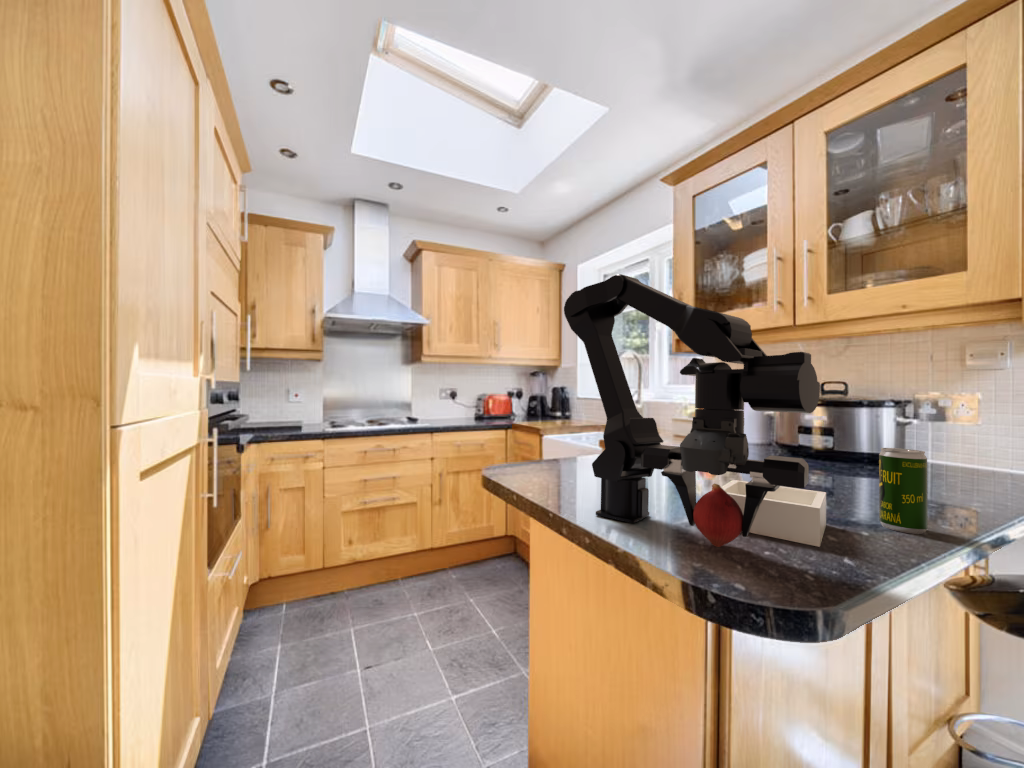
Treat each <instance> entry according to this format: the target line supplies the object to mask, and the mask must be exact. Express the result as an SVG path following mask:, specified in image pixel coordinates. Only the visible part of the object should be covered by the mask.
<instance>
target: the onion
mask: <svg viewBox="0 0 1024 768" xmlns="http://www.w3.org/2000/svg"><path fill="white" fill-rule="evenodd" d="M721 487H722V486H721V485H720V484H718V483H713V484H712V485H711V490H710V491H708V492H706V493H705V494H703V495H702V496H700V498H699V499H698V500H697V501H696V505H695V507H694V511H693V518H694V522H695V527H696V528H697V529H698V531H699V532H700V533H701V535H702V536H703V537H705V538H706V539H707V540H708V542H709V543H710V544H711V545H712V546H714V547H717V548H721V547H723V546H725V545H727V544H730V543H731V542H733V541H734V540H735V539H737V538H738V537H739V536H740V535H741V534H742V522H743V513H742V510H741V508H740V507H739V505H738V504H737V502H736V501H735V500H734V499H733V498H732V497H731V496H730V495H729V494H727V493H726V492H725V491H724V490H723V489H722V488H721Z"/></svg>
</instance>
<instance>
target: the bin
mask: <svg viewBox="0 0 1024 768" xmlns="http://www.w3.org/2000/svg"><path fill="white" fill-rule="evenodd" d="M748 482H749V481H745V480H737V479H732V480H731V481H729V482H726V483H725V484H724V485H722V486H720V487H721V488H722V489H723V490H724V491H725V492H726V493H727V494H729V495H730V496H731V497H732V498H733V499H734V500H735V501H736V502H737V504H738V505H739V507H740V508H741V510H742V513H743V514H744V507H745V499H746V487H745V484H747V483H748ZM826 527H827V492H825V491H820V490H812V489H811V490H810V489H805V488H793V487H786V486H780V487H779V488H778V489H777V490H776V491H774V492H770V491H768V492H767V494H766V495H765V497H764V499H763V500H762V502H761V504H760V506H759V509H758V511H757V514H756V516H755V518H754V521H753V523H752V526H751V528H750V531H749V533H752V534H756V535H760V536H765V537H771V538H776V539H780V540H784V541H785V540H786V541H790V542H795V543H800V544H804V545H808V546H812V547H813V546H815V547H819V548H820V547H821V545H822V541H823V538H824V537H823V536H824V533H825V530H826Z"/></svg>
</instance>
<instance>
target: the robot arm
mask: <svg viewBox="0 0 1024 768" xmlns="http://www.w3.org/2000/svg"><path fill="white" fill-rule="evenodd" d="M628 306H629V307H631V308H633V309H635V310H637V311H638V312H640V313H642V314H644V315H646V316H648V317H649V318H651V319H653V320H655V321H657V322H659V323H661V324H663V325H665V326H666V327H668V328H669V329H671V331H672V332H674V335H676V336H677V338H678V339H679V341H681V342H682V343H683V344H684V345H685V346H687V348H689V349H690V350H691V351H693V352H694V353H695V354H697V355H699V356H703V357H709V358H717V359H718V360H720V362H719V361H717V362H705V361H704V359H703V358H698V357H693V358H691V360H690V362H688V363H687V364H686V365H685V366H683V367H682V368H681V369H680V370H679V374H680V375H682V376H691V377H695V387H694V389H695V390H694V393H695V394H694V395H695V396H694V400H695V401H694V416H693V417H692V421H691V422H692V423H691V429H690V431H689V432H688V433H687V435H686V436H684V438H683V440H682V441H681V442H680V443H679V446H676V445H665V444H661V443H664V440H663V438H662V437H661V435H660V434H659V429H658V426H657V422H656V420H655V418H654V417H643V415H642V414H641V413H640V412H639V410H638V409H637V406H636V403H635V401H634V398H633V395H632V392H631V389H630V386H629V383H628V380H627V376H626V373H625V371H624V368H623V365H622V362H621V359H620V356H619V353H618V350H617V348H616V344H615V342H614V337H613V335H612V334H613V330H614V326H615V321H616V319H615V317H617V316H619V315H620V314H622V313H623V312H624V311H625V309H626V308H627V307H628ZM563 313H564V317H565V319H566V321H567V324H568V326H569V328H570V329H571V331H572V332H573V334H575V335H576V336H577V337H578V338H579V339H580V340H581V341H582V343H583V344H584V348H585V350H586V354H587V358H588V361H589V363H590V364H589V365H590V368H591V371H592V374H593V376H594V381H595V384H596V386H597V387H596V388H597V390H598V392H599V396H600V400H601V403H602V407H603V410H604V413H605V416H606V422H605V427H604V431H603V435H602V436H603V443H604V449H603V450H602V452H601V453H600V454H599V455H598V456H597V458H596V459H594V461H593V462H592V463H591V466H592V467H591V468H592V472H593V475H594V477H595V478H597V479H598V478H600V509H598V510H595V515H596V516H599V517H603V518H606V519H607V518H608V519H611V520H617V521H620V522H626V523H630V524H635V523H637V522H639V521H641V520H643V519H644V518H647V517H649V516H650V511H649V497H650V496H649V495H650V494H649V491H650V490H649V488H648V487H646V485H647V478H652V476H653V473H654V470H659V471H660V473H661V476H662V477H665V478H666V477H667V478H668V479H669V480H670V481H671V482H672V484H673V485H674V487H675V488H676V491H677V494H678V496H679V498H680V501H681V503H682V507H683V509H684V512H685V515H686V518H687V521H688V524H689V526H691V527H694V526H696V524H695V522H694V518H693V511H694V507H695V505H696V503H697V483H696V482H697V481H696V480H697V477H696V472H699V473H706V474H707V473H708V474H710V475H711V476H722V475H725V474H726V473H736V474H737V473H738V474H743V475H749V478H751V480H750V481H747V482H748V483H747V484H745V487H746V499H745V507H744V514H743V522H742V532H741V534H742V535H741V536H742V537H743V538H747V537H748V535H749V533H750V532H749V531H750V528H751V526H752V523H753V521H754V518H755V516H756V514H757V511H758V509H759V506H760V504H761V502H762V500H763V499H764V497H765V495H766V494H767V492H768V491H770V492H774V491H776V490H777V489H778V488H779V487H780V486H782V487H790V488H797V489H805V488H806V487H807V485H808V483H809V480H810V479H809V473H810V472H809V471H810V470H809V469H810V468H809V464H808V462H807V461H806V460H805V459H804V458H803V457H802V458H801V457H791V456H779V455H772V454H771V455H769V456H767V457H765V458H764V459H763V460H758V459H749V454H750V453H749V452H750V451H749V442H748V437H747V434H746V433H745V403H746V404H748V405H749V406H750V408H751V409H752V410H753V411H756V412H774V413H795V414H798V413H799V414H811V413H814V411H815V410H816V409H817V406H818V404H819V400H820V396H821V395H820V394H821V383H820V381H818V377H817V376H818V375H817V372H816V370H815V366H813V364H812V354H811V353H809V352H806V351H796V352H795V351H792V352H788V353H786V354H773V355H767V354H766V352H764V350H763V349H762V348H761V347H760V346H759V345H758V343H757V342H756V341H755V340H754V339H753V333H752V330H751V324H750V322H748V321H747V320H745V319H744V318H741V317H739V316H734V315H731V314H730V315H729V314H726V313H723V312H718V311H715V310H711V309H706V308H701V307H698V306H693V305H690V304H688V303H686V302H684V301H682V300H680V299H677V298H675V297H673V296H671V295H669V294H666V293H664V292H662V291H660V290H659V289H656V288H654V287H652V286H649V285H647V284H646V283H643V282H641V281H640V280H639V279H637V278H635V277H632V276H628V275H624V274H620V273H619V274H615V275H612V276H611V277H609V278H607V279H605V280H604V281H600V282H597V283H594V284H590V285H587V286H585V287H583V288H581V289H580V290H574V291H573V292H571V293H570V295H569V296H568V297H567V299H566V300H565V303H564V307H563ZM728 363H730V364H737V365H738V364H739V365H743V368H739V369H738V368H735V369H734V368H733V369H732V367H731V366H730V364H728ZM662 470H663V471H662Z"/></svg>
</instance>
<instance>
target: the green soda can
mask: <svg viewBox="0 0 1024 768" xmlns="http://www.w3.org/2000/svg"><path fill="white" fill-rule="evenodd" d="M880 450H881V451H880V452H879V454H878V459H879V460H878V464H879V465H878V467H879V468H878V472H879V474H878V479H879V480H878V485H879V486H878V491H879V493H878V494H879V495H878V497H879V499H878V503H879V504H878V505H879V507H878V508H879V509H878V510H879V512H878V514H879V515H878V516H879V522H880V524H881V526H882V527H883V528H886V529H888V530H892V531H896V532H899V533H907V534H915V535H918V534H919V535H920V534H925V533H926V531H928V527H929V526H928V523H929V522H928V520H929V519H928V517H929V516H928V509H929V508H928V458H927V456H926V451H924V450H918V449H912V448H911V449H910V448H909V449H908V448H898V447H897V448H896V447H881V448H880Z"/></svg>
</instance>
